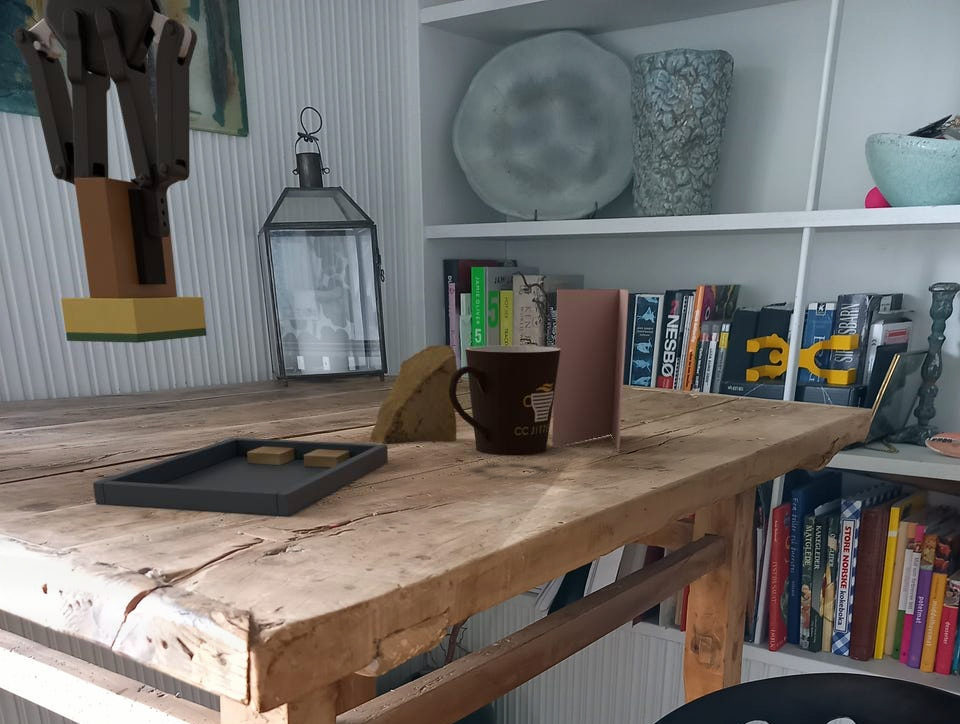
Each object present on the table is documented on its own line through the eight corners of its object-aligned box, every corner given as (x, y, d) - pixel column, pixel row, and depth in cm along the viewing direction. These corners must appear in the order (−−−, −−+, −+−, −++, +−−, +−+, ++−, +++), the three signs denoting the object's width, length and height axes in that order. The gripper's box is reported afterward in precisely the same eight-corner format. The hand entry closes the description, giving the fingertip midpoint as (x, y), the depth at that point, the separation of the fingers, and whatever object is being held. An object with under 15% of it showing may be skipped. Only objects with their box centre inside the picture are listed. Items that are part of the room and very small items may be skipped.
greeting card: (604, 434, 103) (612, 289, 97) (664, 441, 98) (676, 289, 93) (544, 447, 94) (549, 289, 89) (607, 456, 90) (617, 290, 85)
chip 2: (304, 466, 79) (303, 454, 78) (317, 460, 81) (317, 449, 81) (337, 468, 78) (336, 456, 78) (350, 462, 81) (349, 450, 80)
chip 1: (247, 463, 80) (246, 451, 79) (263, 457, 82) (262, 446, 82) (280, 465, 79) (279, 453, 79) (294, 459, 82) (294, 447, 81)
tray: (97, 517, 65) (92, 482, 65) (234, 465, 84) (232, 437, 83) (290, 531, 62) (287, 494, 61) (388, 473, 81) (387, 444, 80)
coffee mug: (534, 449, 93) (536, 344, 89) (572, 464, 86) (577, 351, 82) (423, 456, 89) (421, 347, 86) (453, 472, 82) (452, 353, 78)
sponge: (138, 342, 68) (118, 175, 64) (66, 340, 69) (42, 176, 65) (206, 335, 77) (193, 188, 73) (142, 334, 78) (125, 189, 74)
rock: (375, 433, 87) (476, 415, 89) (352, 354, 89) (452, 338, 91) (369, 484, 97) (460, 466, 99) (348, 411, 99) (438, 396, 101)
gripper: (221, -75, 65) (249, 285, 74) (28, -60, 68) (75, 283, 77) (163, -117, 58) (201, 285, 67) (-49, -97, 62) (13, 283, 70)
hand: (134, 283), depth 72 cm, fingers closed on sponge, 2 cm apart
